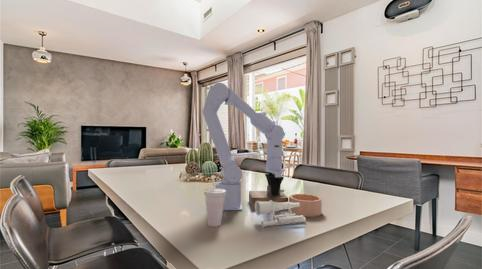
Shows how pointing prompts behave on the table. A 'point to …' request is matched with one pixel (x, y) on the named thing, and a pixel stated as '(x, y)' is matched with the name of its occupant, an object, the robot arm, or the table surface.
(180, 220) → the table surface
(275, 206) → the white joined tubes piece
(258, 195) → the board
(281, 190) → the connector
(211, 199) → the smoothie
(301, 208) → the bowl
